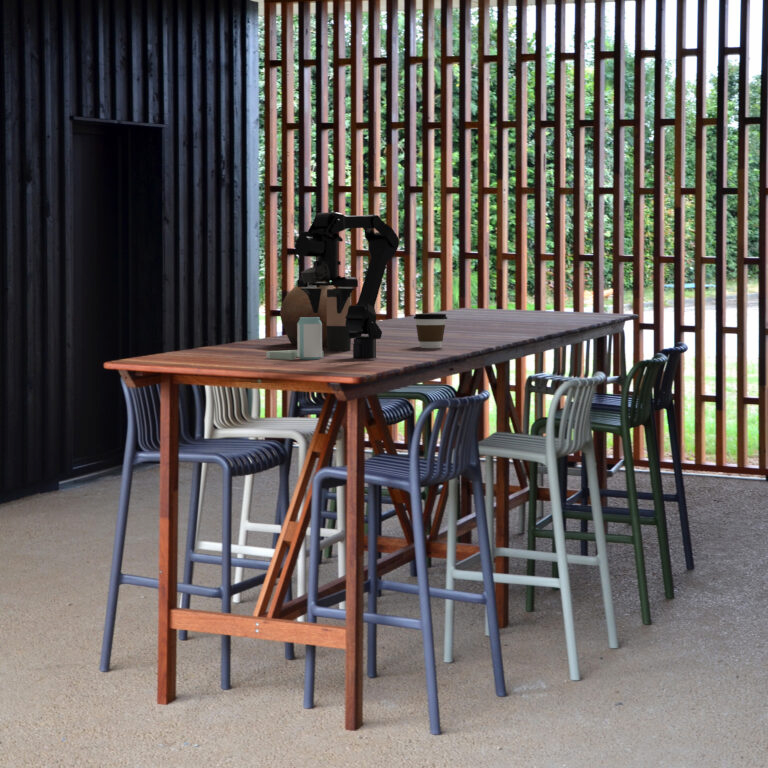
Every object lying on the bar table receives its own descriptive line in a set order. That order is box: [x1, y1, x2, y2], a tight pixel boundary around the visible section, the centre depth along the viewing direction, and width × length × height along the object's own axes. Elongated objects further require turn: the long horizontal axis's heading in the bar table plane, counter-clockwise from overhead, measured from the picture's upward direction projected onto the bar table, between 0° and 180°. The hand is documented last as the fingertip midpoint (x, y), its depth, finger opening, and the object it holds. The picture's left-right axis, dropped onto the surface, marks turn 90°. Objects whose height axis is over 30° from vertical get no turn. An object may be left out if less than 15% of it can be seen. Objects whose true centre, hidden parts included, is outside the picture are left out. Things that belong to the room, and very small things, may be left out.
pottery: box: [279, 280, 336, 348], centre depth 411 cm, size 23×23×25 cm
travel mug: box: [326, 289, 352, 352], centre depth 395 cm, size 8×8×20 cm
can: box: [297, 317, 323, 361], centre depth 364 cm, size 7×7×12 cm
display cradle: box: [265, 349, 325, 361], centre depth 368 cm, size 13×10×2 cm
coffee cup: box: [413, 313, 448, 349], centre depth 408 cm, size 11×11×12 cm
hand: (327, 313), depth 356 cm, fingers open, 9 cm apart
